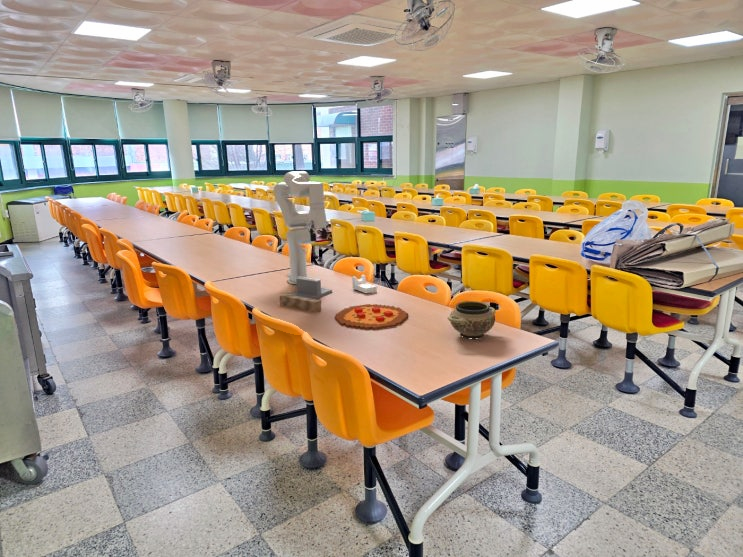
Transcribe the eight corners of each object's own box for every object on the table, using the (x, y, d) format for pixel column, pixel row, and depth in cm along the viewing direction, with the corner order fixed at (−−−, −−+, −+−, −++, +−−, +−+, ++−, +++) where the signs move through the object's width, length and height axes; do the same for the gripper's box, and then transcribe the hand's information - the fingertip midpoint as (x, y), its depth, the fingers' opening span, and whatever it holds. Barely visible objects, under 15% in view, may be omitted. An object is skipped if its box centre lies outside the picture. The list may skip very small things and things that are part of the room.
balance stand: (285, 298, 252) (284, 281, 250) (311, 289, 270) (311, 272, 268) (306, 302, 245) (305, 284, 243) (332, 292, 263) (331, 275, 261)
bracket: (352, 289, 268) (352, 276, 267) (363, 287, 272) (362, 274, 270) (365, 294, 258) (365, 281, 256) (376, 292, 262) (376, 279, 260)
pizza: (389, 304, 241) (389, 298, 241) (418, 324, 213) (418, 317, 212) (328, 312, 230) (327, 306, 230) (349, 334, 201) (349, 327, 201)
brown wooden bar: (280, 304, 244) (279, 295, 242) (285, 303, 246) (284, 293, 245) (316, 312, 230) (315, 302, 229) (321, 310, 233) (320, 300, 232)
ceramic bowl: (482, 331, 209) (477, 297, 208) (513, 333, 193) (507, 296, 193) (437, 343, 196) (432, 307, 196) (467, 346, 181) (461, 307, 181)
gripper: (321, 205, 258) (322, 237, 262) (300, 208, 244) (303, 241, 247) (332, 205, 255) (334, 237, 258) (312, 208, 240) (315, 242, 244)
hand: (319, 239), depth 253 cm, fingers open, 9 cm apart
